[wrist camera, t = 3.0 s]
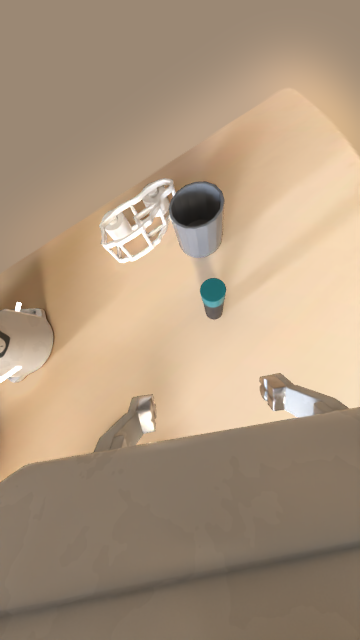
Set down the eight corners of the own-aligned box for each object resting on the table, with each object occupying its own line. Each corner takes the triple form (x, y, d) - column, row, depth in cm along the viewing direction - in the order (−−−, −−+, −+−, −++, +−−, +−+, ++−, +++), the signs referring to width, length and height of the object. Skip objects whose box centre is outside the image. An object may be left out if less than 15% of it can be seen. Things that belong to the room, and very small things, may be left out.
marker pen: (204, 318, 37) (198, 299, 25) (207, 302, 37) (202, 276, 25) (221, 321, 36) (223, 303, 24) (224, 304, 37) (227, 279, 25)
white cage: (169, 195, 45) (161, 165, 38) (191, 224, 42) (186, 197, 35) (106, 238, 47) (87, 217, 39) (123, 269, 43) (105, 252, 36)
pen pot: (175, 256, 41) (163, 227, 32) (184, 219, 43) (175, 182, 34) (218, 259, 39) (218, 230, 30) (225, 220, 40) (228, 180, 31)
